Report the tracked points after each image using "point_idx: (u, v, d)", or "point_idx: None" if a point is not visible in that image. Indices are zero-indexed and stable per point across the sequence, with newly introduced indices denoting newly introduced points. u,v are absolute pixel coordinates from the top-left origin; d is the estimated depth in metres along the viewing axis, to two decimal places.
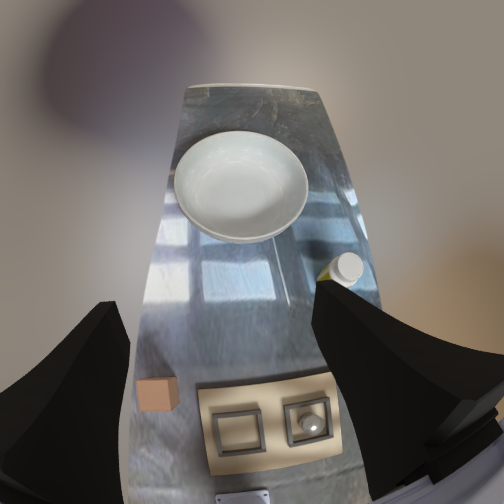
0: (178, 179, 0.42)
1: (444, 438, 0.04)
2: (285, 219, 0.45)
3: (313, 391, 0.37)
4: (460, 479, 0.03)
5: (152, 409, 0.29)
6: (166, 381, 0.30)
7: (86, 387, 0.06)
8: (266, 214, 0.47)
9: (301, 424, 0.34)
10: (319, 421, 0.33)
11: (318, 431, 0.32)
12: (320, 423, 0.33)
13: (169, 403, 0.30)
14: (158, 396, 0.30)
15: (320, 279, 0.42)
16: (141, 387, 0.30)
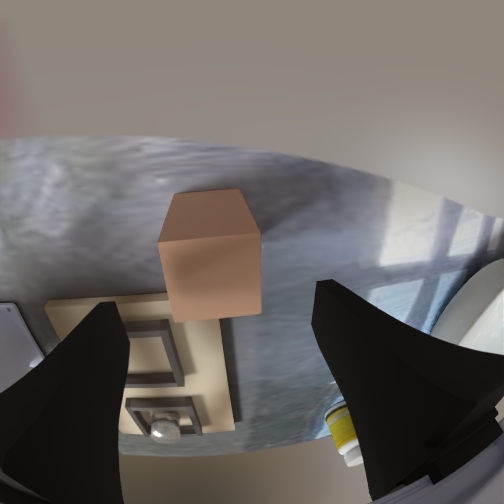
0: None
1: (444, 438, 0.04)
2: None
3: (210, 418, 0.26)
4: (459, 479, 0.03)
5: (170, 278, 0.11)
6: (257, 312, 0.13)
7: (86, 387, 0.06)
8: None
9: (164, 422, 0.23)
10: (171, 441, 0.23)
11: (156, 440, 0.23)
12: (168, 441, 0.23)
13: (195, 318, 0.13)
14: (214, 294, 0.12)
15: None
16: (237, 249, 0.11)
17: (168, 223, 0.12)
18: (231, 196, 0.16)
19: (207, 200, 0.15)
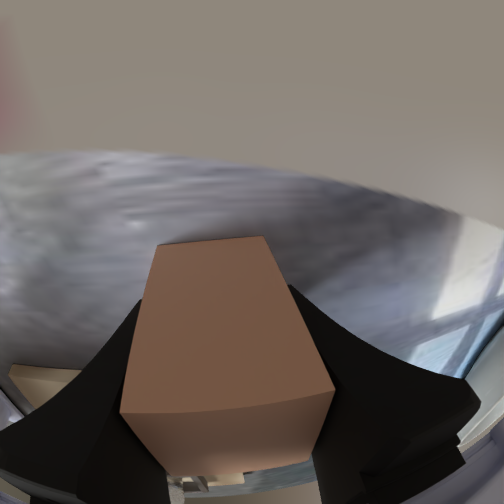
0: None
1: (381, 470, 0.03)
2: None
3: (217, 476, 0.20)
4: (460, 479, 0.03)
5: (156, 447, 0.05)
6: (303, 460, 0.06)
7: None
8: None
9: None
10: (174, 503, 0.17)
11: None
12: (171, 503, 0.17)
13: (205, 473, 0.06)
14: (236, 458, 0.06)
15: None
16: (286, 415, 0.05)
17: (141, 340, 0.06)
18: (253, 257, 0.09)
19: (213, 267, 0.09)
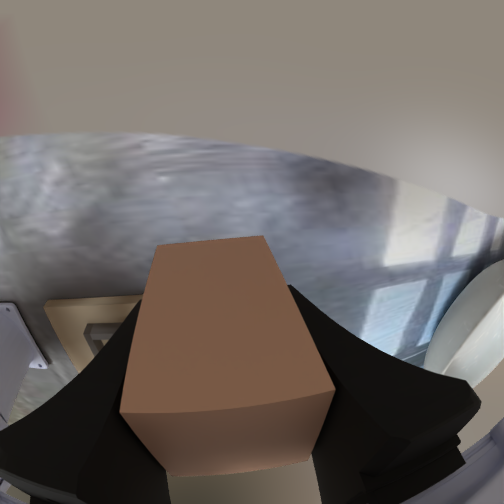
0: None
1: (381, 470, 0.03)
2: None
3: None
4: (460, 479, 0.03)
5: (156, 447, 0.05)
6: (302, 460, 0.06)
7: None
8: None
9: None
10: None
11: None
12: None
13: (205, 472, 0.06)
14: (237, 458, 0.06)
15: None
16: (286, 415, 0.05)
17: (141, 340, 0.06)
18: (253, 257, 0.09)
19: (213, 266, 0.09)
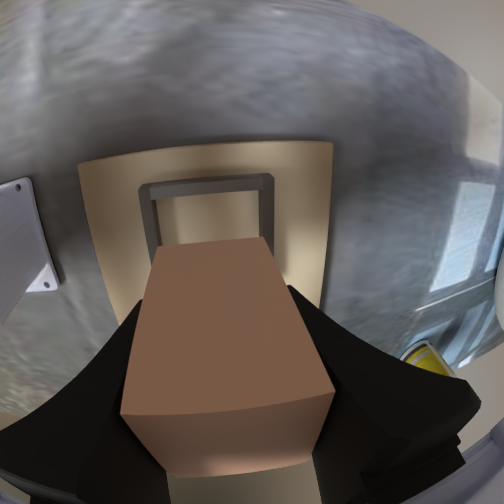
0: None
1: (381, 470, 0.03)
2: None
3: None
4: (460, 479, 0.03)
5: (156, 449, 0.05)
6: (302, 461, 0.06)
7: None
8: None
9: None
10: None
11: None
12: None
13: (205, 473, 0.06)
14: (236, 459, 0.06)
15: (431, 352, 0.24)
16: (286, 417, 0.05)
17: (141, 342, 0.06)
18: (253, 259, 0.09)
19: (213, 268, 0.09)
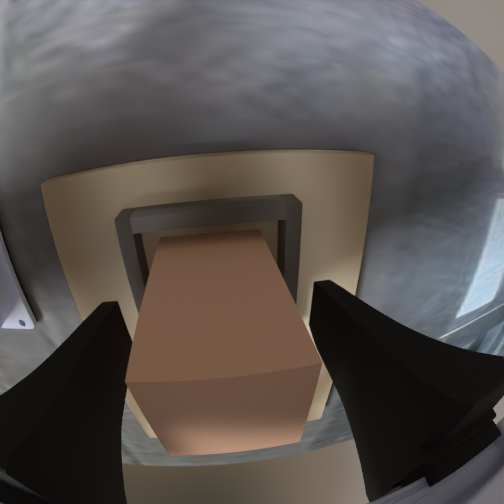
0: None
1: (441, 440, 0.04)
2: None
3: None
4: (460, 479, 0.03)
5: (156, 421, 0.06)
6: (295, 441, 0.07)
7: (89, 387, 0.06)
8: None
9: None
10: None
11: None
12: None
13: (201, 451, 0.07)
14: (232, 435, 0.06)
15: None
16: (277, 387, 0.06)
17: (146, 319, 0.07)
18: (250, 248, 0.10)
19: (213, 256, 0.09)
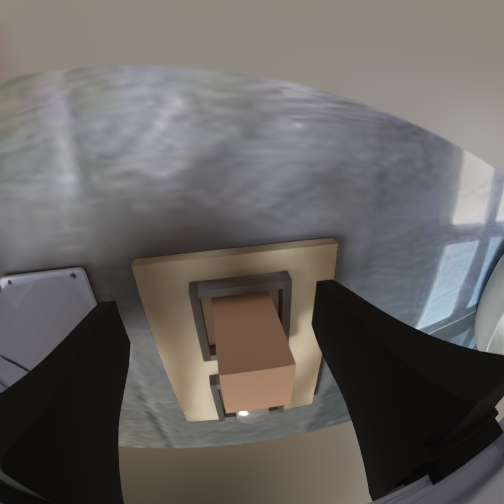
0: None
1: (444, 438, 0.04)
2: None
3: (293, 390, 0.26)
4: (460, 479, 0.03)
5: (226, 392, 0.14)
6: (288, 403, 0.16)
7: (86, 387, 0.06)
8: None
9: None
10: (258, 419, 0.23)
11: (242, 420, 0.23)
12: (254, 420, 0.23)
13: (242, 409, 0.15)
14: (258, 398, 0.15)
15: None
16: (278, 374, 0.14)
17: (220, 347, 0.15)
18: (263, 305, 0.18)
19: (245, 310, 0.18)
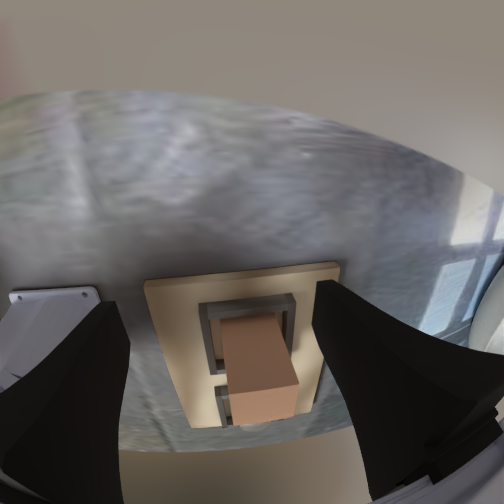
0: None
1: (444, 438, 0.04)
2: None
3: None
4: (460, 479, 0.03)
5: (235, 408, 0.15)
6: (290, 416, 0.17)
7: (86, 387, 0.06)
8: None
9: None
10: (260, 427, 0.24)
11: (244, 428, 0.24)
12: (256, 428, 0.24)
13: (248, 422, 0.16)
14: (264, 412, 0.16)
15: None
16: (283, 392, 0.15)
17: (229, 367, 0.16)
18: (269, 325, 0.19)
19: (251, 331, 0.19)
